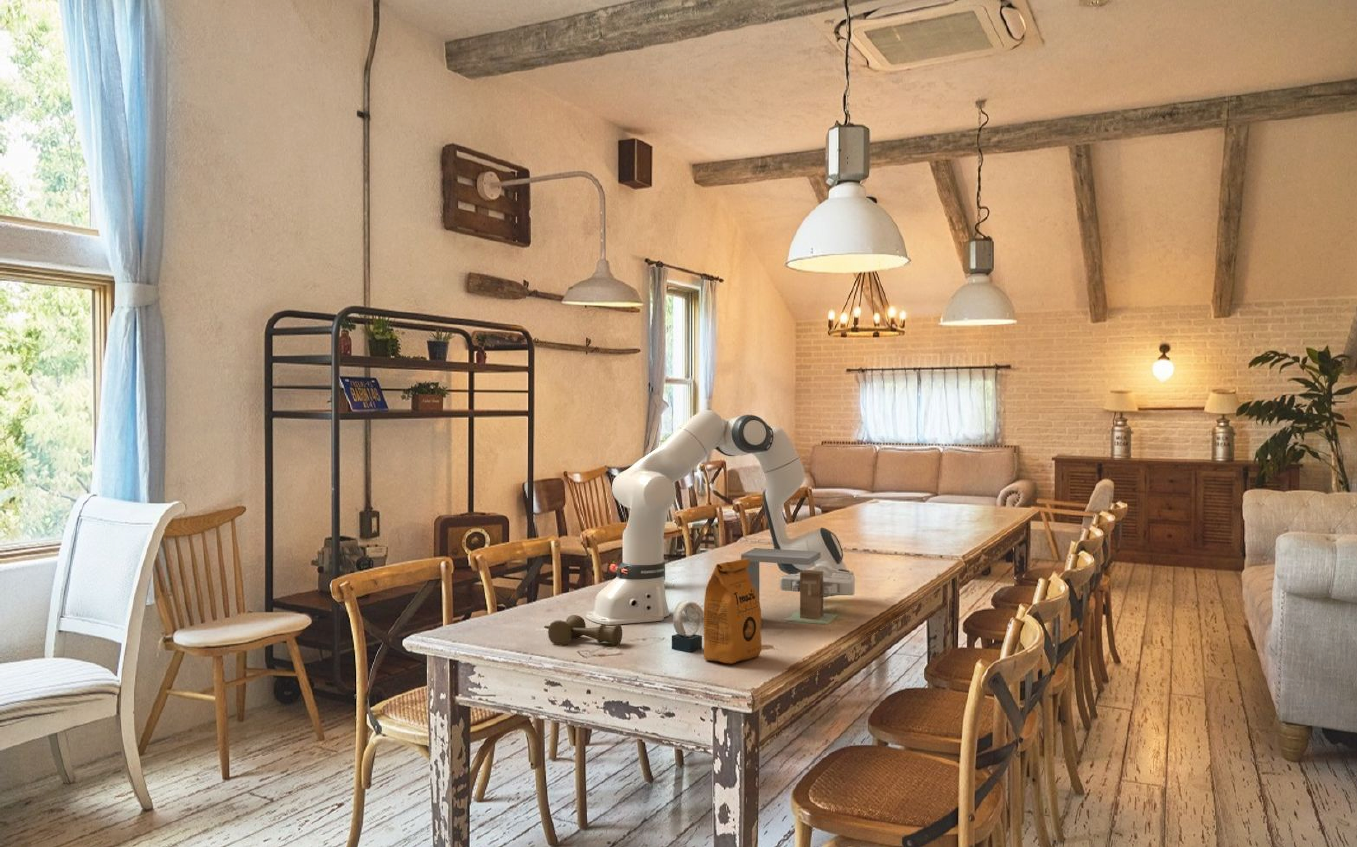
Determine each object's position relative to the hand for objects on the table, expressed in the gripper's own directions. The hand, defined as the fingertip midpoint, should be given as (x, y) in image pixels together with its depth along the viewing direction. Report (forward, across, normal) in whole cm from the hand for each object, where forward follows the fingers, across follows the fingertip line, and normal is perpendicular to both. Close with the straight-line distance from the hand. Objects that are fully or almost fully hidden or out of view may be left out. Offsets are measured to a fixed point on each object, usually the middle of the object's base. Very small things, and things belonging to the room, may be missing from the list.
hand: (811, 589), depth 249 cm
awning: (+10, -5, +8) cm, 14 cm away
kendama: (+44, -45, +8) cm, 63 cm away
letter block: (-1, 0, +7) cm, 7 cm away
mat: (-1, 0, +8) cm, 8 cm away
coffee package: (+45, -6, +8) cm, 46 cm away
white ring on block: (+41, -19, +8) cm, 46 cm away
